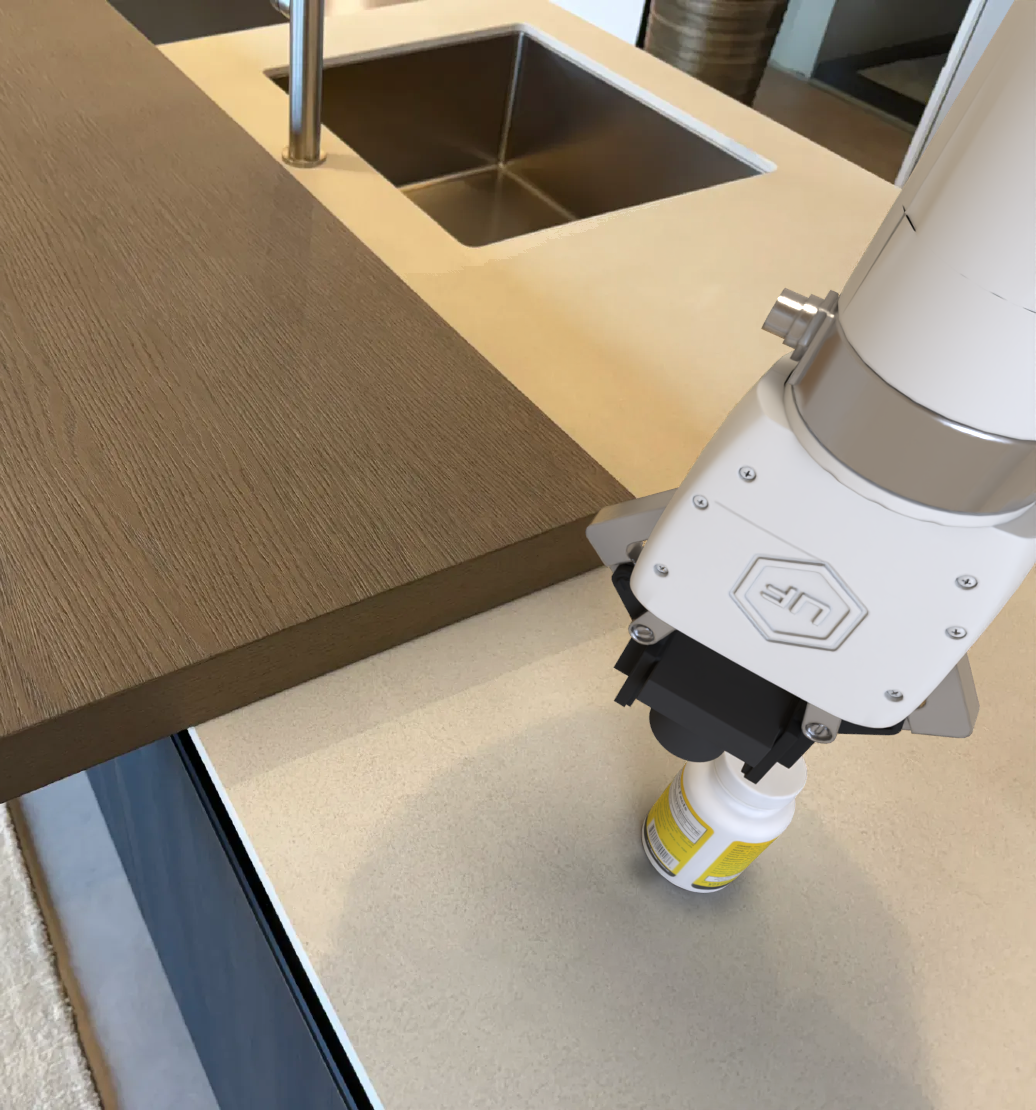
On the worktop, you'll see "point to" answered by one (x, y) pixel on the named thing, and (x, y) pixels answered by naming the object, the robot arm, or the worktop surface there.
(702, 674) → the top pad
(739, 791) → the supplement bottle
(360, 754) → the worktop surface
